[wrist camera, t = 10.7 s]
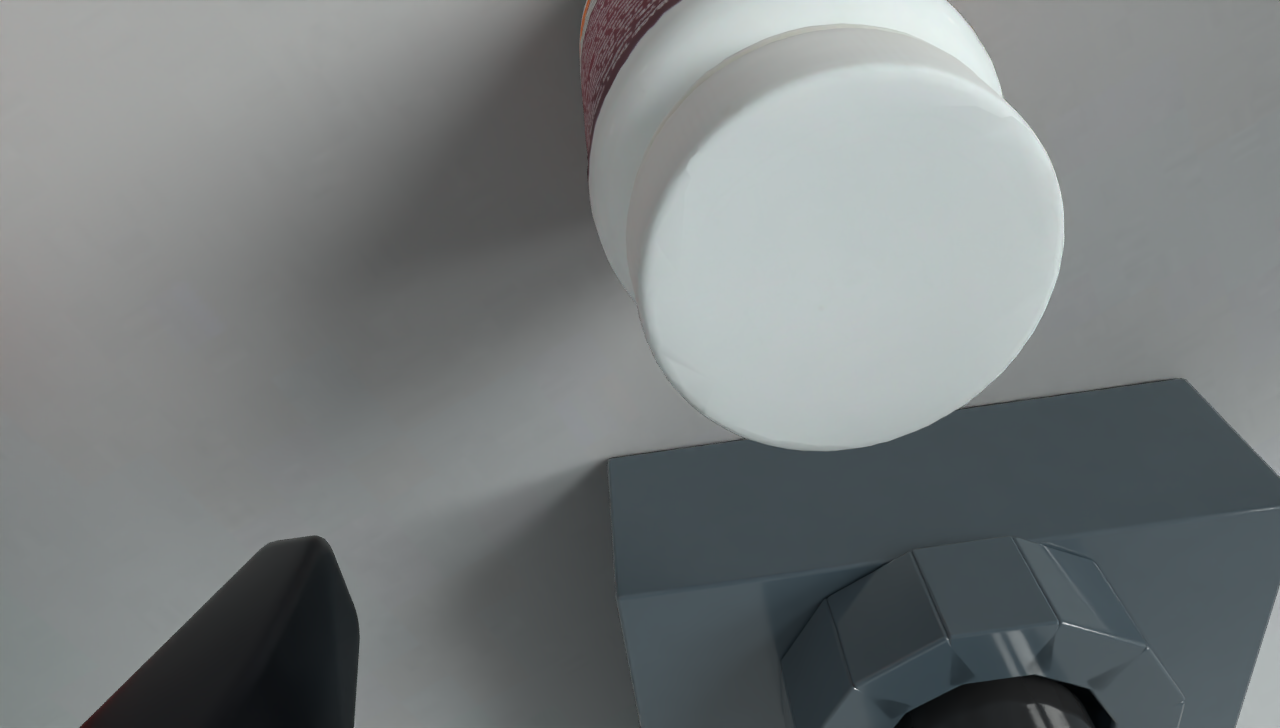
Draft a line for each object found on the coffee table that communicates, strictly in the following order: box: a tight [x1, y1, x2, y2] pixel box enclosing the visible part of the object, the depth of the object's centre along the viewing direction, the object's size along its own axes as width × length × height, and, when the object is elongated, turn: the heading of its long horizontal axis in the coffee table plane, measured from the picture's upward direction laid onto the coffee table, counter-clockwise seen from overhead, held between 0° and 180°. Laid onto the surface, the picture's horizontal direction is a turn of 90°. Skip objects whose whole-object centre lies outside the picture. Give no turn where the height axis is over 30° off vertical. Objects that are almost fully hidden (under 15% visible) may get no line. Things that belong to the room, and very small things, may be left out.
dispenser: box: [607, 378, 1280, 728], centre depth 21 cm, size 12×10×6 cm
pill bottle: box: [579, 0, 1065, 451], centre depth 13 cm, size 5×5×8 cm
